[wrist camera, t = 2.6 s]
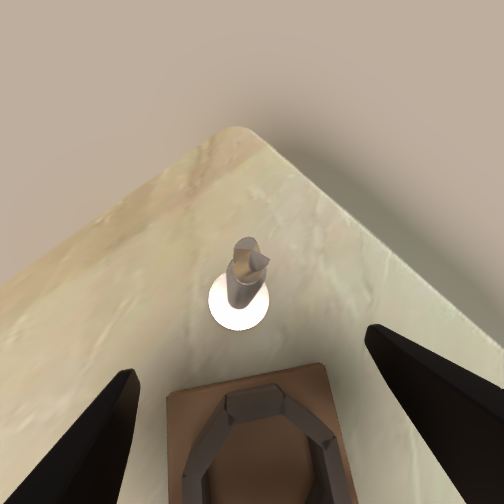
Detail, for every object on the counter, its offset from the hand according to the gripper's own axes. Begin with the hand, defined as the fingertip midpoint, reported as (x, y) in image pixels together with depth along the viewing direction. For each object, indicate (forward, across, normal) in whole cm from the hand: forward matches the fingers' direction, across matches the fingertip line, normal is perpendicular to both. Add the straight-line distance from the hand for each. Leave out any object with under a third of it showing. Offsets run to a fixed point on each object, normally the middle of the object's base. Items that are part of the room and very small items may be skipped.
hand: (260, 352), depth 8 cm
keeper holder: (+1, 0, +14) cm, 14 cm away
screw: (+10, 0, +5) cm, 11 cm away
